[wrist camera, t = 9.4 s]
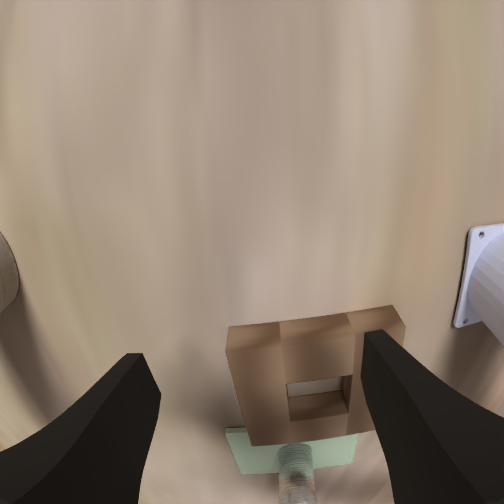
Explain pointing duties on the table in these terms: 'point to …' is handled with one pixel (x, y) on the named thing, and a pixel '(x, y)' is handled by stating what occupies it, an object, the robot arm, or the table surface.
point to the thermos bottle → (7, 275)
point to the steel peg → (296, 474)
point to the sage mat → (267, 456)
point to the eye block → (305, 374)
